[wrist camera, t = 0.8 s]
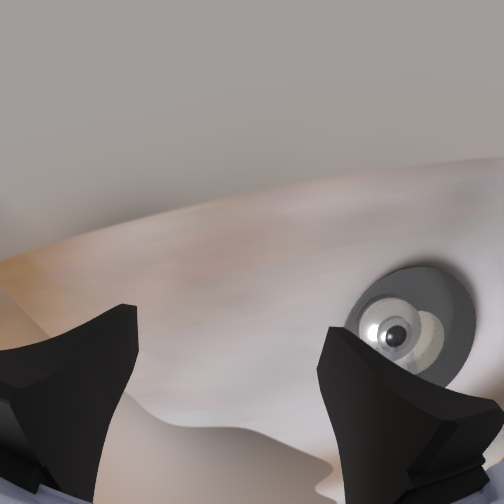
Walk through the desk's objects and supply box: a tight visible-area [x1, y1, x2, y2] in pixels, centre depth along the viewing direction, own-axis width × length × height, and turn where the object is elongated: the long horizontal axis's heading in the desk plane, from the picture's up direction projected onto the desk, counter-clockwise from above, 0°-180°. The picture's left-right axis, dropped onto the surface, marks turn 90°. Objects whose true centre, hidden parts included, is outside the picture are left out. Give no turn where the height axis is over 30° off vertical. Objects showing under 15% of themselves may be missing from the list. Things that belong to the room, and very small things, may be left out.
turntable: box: [344, 267, 476, 388], centre depth 25 cm, size 14×14×2 cm
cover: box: [356, 294, 422, 361], centre depth 23 cm, size 5×5×3 cm
